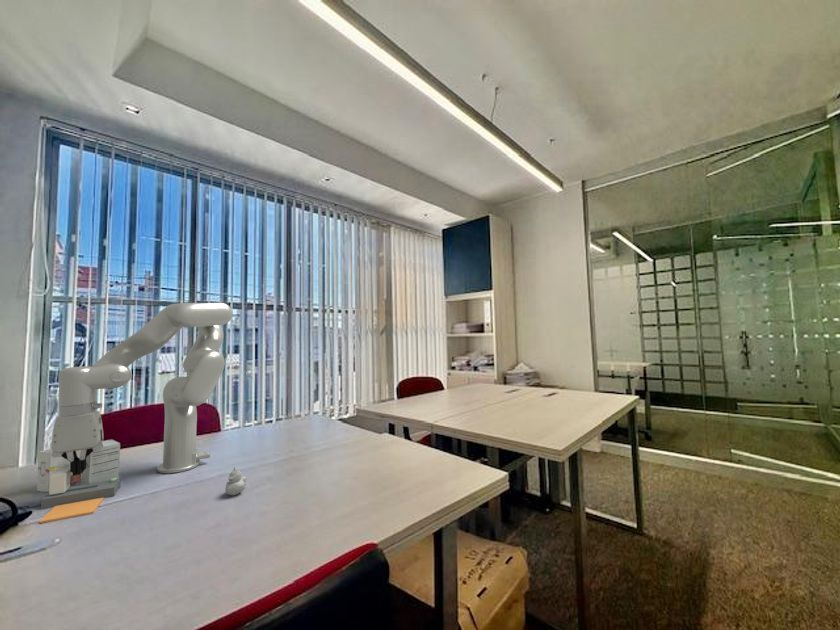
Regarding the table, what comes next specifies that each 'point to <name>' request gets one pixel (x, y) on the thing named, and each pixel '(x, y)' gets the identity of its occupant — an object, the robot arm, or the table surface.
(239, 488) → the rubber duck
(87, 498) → the gray flat block
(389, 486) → the table surface
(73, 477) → the ink cartridge box
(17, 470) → the table surface
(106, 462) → the supplement box
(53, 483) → the cream rectangular block
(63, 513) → the pad
